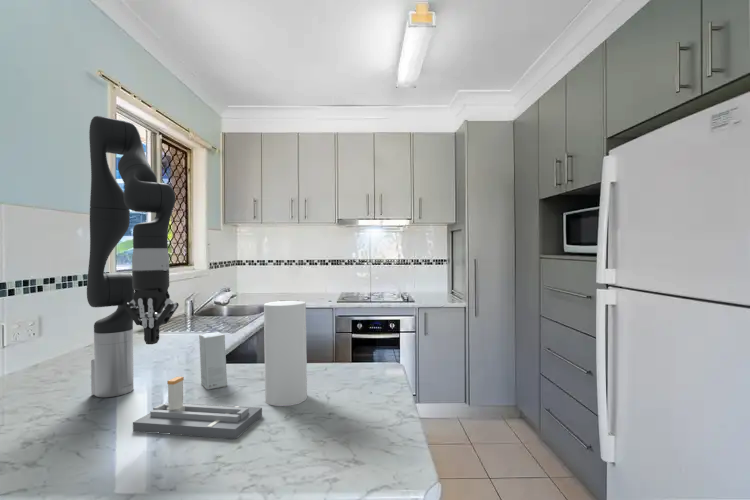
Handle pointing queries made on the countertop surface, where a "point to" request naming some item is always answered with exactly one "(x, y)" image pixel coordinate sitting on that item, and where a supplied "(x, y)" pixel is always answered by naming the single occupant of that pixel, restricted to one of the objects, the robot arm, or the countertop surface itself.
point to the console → (199, 420)
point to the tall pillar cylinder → (285, 352)
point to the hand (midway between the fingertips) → (151, 343)
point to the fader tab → (175, 394)
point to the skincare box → (213, 360)
